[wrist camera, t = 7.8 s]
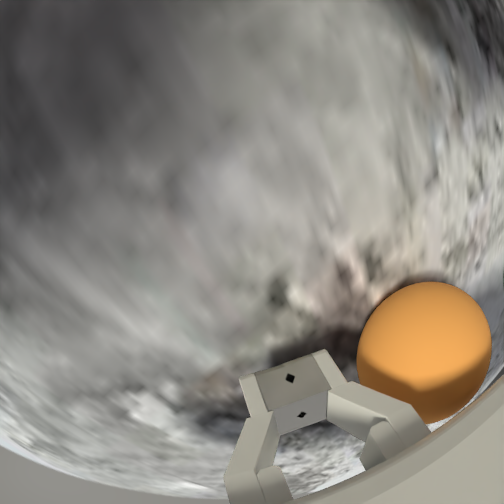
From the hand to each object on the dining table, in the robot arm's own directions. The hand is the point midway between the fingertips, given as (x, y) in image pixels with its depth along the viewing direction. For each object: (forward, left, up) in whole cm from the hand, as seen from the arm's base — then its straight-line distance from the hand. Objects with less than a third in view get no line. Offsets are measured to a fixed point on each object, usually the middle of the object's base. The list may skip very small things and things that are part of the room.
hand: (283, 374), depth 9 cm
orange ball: (-5, +1, +1) cm, 6 cm away
